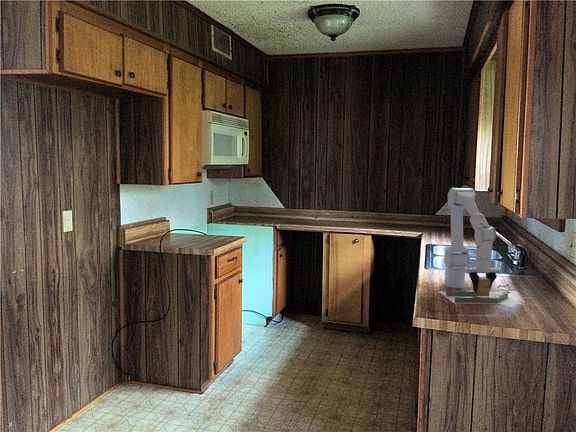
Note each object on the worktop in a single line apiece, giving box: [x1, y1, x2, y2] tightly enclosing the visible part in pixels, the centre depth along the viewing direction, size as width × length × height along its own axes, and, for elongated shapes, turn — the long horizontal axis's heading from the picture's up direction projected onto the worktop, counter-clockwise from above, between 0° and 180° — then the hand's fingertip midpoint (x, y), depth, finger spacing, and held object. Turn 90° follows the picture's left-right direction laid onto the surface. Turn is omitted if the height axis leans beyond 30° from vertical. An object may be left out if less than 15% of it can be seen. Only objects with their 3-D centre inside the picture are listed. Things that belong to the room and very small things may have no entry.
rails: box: [445, 289, 509, 304], centre depth 203 cm, size 16×25×2 cm, turn 92°
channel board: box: [438, 290, 523, 307], centre depth 203 cm, size 18×27×1 cm, turn 92°
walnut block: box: [472, 276, 491, 297], centre depth 199 cm, size 4×4×7 cm
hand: (481, 291), depth 200 cm, fingers closed on walnut block, 4 cm apart
